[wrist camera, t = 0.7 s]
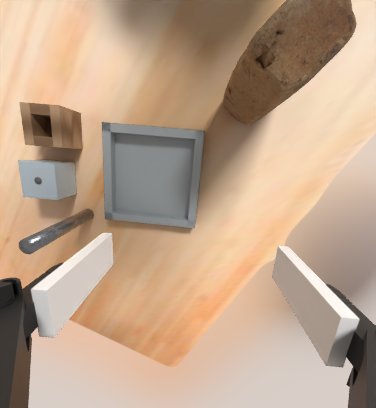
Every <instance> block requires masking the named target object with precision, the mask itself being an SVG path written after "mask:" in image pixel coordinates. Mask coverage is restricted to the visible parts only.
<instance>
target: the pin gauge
mask: <svg viewBox="0 0 376 408" xmlns="http://www.w3.org/2000/svg"><path fill="white" fill-rule="evenodd" d="M93 216H94V214H93V212H92V211H91V210H90V209H86V210H84V211H82V212H80V213H78V214H75V215H73V216H71V217H69V218H67V219H65V220H63V221H61V222H59V223H57V224H54V225H52V226H50V227H48V228H46V229H44V230H42V231H40V232H38V233H36V234H33V235H31V236H29V237H27V238H25V239H23V240H21V241H20V242H19V248H20V250H21V251H22V252H24V253H26V254H32V253H33V252H35V251H37V250H38V249H40V248H42V247H44V246H45V245H47V244H49V243H50V242H52V241H54V240H56V239H57V238H59V237H61V236H62V235H64V234H66V233H67V232H69V231H71V230H73V229H74V228H76V227H78V226H79V225H81V224H83V223H85V222H86V221H88V220H90V219H91V218H93Z"/></svg>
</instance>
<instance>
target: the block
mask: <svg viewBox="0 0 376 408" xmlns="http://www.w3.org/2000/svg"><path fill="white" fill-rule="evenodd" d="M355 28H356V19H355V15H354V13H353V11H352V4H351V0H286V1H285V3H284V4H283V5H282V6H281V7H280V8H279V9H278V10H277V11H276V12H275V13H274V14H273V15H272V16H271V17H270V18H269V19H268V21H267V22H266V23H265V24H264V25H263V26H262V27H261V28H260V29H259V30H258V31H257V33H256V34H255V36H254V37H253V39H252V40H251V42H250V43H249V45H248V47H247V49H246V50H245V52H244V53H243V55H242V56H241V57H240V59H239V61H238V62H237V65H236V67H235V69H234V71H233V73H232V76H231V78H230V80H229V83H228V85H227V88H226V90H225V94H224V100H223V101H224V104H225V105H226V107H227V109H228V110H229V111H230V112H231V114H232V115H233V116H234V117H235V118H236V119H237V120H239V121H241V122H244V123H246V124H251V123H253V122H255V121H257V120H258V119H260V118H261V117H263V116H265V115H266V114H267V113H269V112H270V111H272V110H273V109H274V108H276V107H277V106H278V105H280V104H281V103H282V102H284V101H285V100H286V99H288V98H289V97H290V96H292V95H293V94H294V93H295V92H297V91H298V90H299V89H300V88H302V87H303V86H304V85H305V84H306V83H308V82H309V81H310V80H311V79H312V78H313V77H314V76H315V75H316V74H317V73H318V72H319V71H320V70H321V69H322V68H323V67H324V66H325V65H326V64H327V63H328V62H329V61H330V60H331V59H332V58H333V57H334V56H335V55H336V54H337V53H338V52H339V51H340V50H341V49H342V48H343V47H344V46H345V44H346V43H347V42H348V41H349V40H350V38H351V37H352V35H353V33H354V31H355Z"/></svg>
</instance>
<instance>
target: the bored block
mask: <svg viewBox="0 0 376 408" xmlns="http://www.w3.org/2000/svg"><path fill="white" fill-rule="evenodd" d="M20 109H21V116H22V124H23V131H24V139H25V145H35V146H46V147H58V148H73V149H83V146H82V129H81V113H79V112H76V111H73V110H70V109H68V108H65V107H62V106H59V105H47V104H35V103H22V102H20Z"/></svg>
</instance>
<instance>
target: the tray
mask: <svg viewBox="0 0 376 408" xmlns="http://www.w3.org/2000/svg"><path fill="white" fill-rule="evenodd" d="M204 133H205V131H201V130H189V129H177V128H165V127H153V126H141V125H129V124H117V123H105V122H102V135H103V167H104V198H105V219H109V220H119V221H128V222H138V223H148V224H158V225H167V226H177V227H187V228H195V222H196V212H197V202H198V192H199V182H200V172H201V162H202V152H203V142H204Z"/></svg>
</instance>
